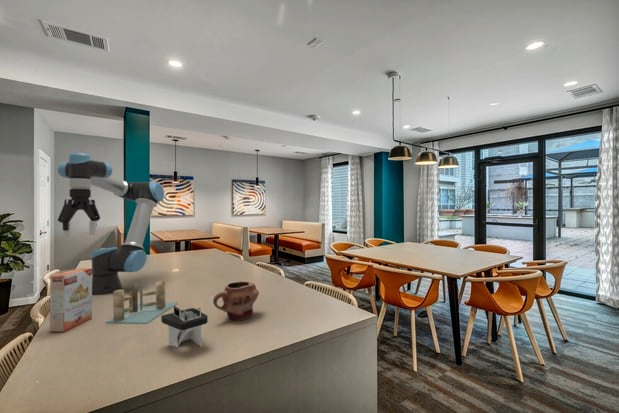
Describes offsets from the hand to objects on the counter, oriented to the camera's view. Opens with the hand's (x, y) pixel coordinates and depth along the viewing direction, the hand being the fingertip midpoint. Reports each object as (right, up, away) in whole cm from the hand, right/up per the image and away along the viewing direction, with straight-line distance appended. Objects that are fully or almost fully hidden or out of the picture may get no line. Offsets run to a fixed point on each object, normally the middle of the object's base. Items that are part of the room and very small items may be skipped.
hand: (80, 236), depth 134 cm
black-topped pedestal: (+60, -33, -34) cm, 77 cm away
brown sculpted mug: (+72, -33, -10) cm, 79 cm away
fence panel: (+32, -32, -1) cm, 45 cm away
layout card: (+30, -33, -3) cm, 44 cm away
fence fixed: (+25, -33, -8) cm, 42 cm away
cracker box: (+9, -33, -16) cm, 38 cm away
